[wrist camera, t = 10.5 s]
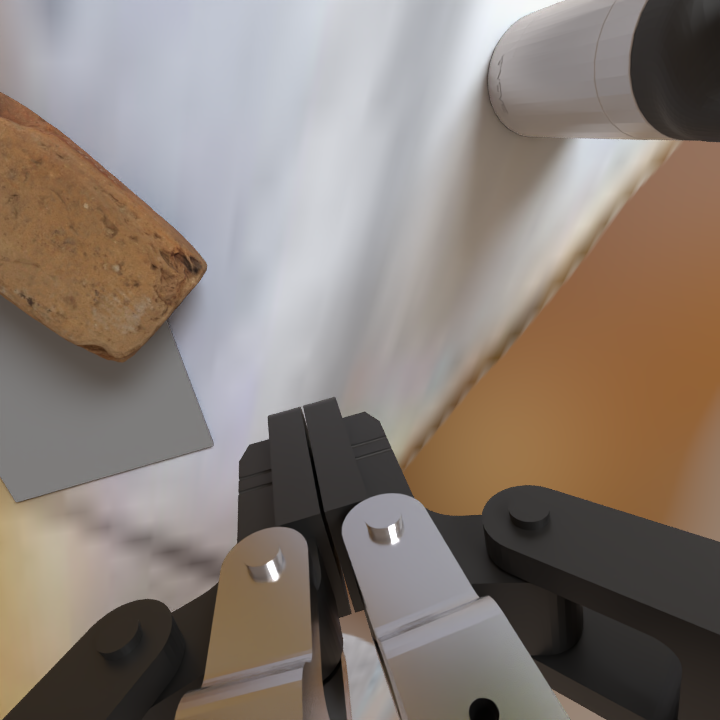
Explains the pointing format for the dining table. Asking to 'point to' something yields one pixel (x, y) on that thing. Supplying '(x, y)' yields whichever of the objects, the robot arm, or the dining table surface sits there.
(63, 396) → the mat
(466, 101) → the dining table surface
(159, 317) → the sandstone rock
